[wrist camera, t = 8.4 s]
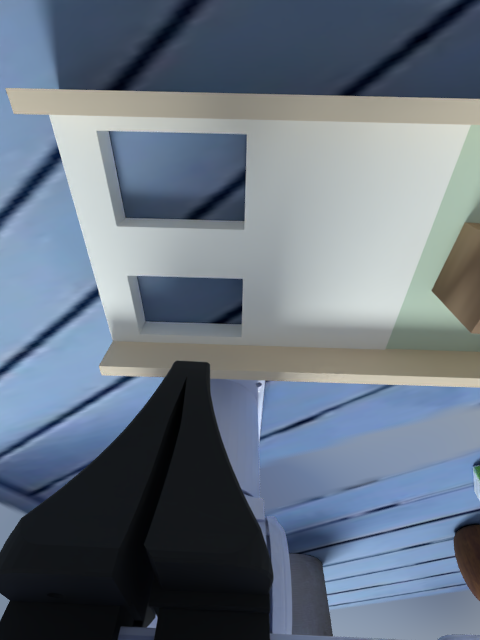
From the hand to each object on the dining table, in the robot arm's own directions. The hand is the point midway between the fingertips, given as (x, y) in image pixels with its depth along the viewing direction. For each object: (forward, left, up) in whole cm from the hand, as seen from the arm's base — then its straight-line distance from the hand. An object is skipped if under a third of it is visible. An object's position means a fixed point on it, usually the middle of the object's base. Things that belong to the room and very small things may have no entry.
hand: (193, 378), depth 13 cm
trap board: (+2, -7, -9) cm, 12 cm away
